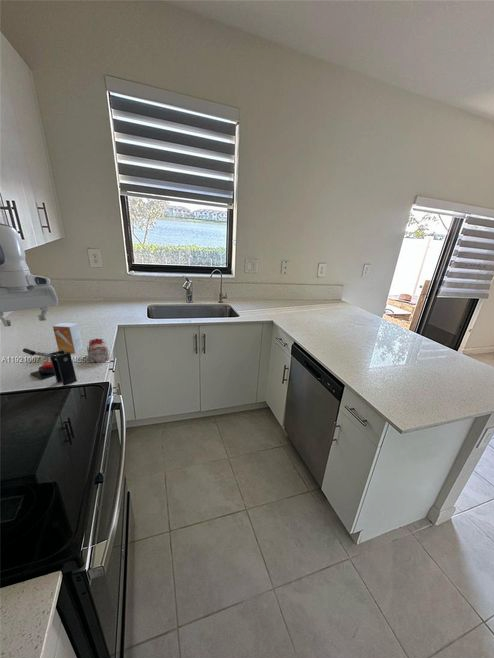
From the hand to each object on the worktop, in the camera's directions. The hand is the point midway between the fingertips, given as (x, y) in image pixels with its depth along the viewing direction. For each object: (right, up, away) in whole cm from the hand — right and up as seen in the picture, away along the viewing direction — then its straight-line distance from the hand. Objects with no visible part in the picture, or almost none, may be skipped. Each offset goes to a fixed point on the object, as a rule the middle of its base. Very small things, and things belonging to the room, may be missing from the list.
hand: (26, 323), depth 95 cm
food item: (+3, -12, +36) cm, 38 cm away
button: (-6, -15, +18) cm, 24 cm away
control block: (-6, -18, +19) cm, 28 cm away
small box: (-16, -8, +45) cm, 49 cm away
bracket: (+5, -22, +13) cm, 26 cm away
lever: (+3, -12, +5) cm, 13 cm away
